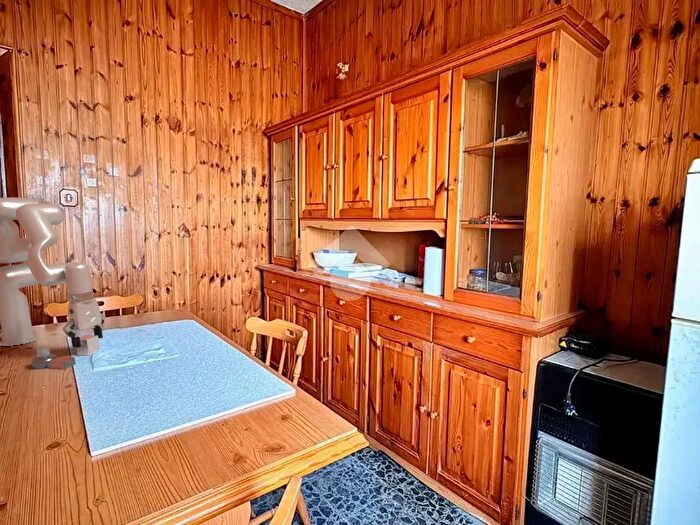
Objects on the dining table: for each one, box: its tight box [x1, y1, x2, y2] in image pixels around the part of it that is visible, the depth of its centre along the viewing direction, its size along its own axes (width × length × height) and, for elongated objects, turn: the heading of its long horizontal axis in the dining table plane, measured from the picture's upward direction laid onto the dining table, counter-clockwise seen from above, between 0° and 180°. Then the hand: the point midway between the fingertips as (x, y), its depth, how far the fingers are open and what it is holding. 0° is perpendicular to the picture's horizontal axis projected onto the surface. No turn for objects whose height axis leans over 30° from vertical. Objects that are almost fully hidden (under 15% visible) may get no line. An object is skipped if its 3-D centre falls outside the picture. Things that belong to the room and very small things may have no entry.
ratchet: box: [30, 346, 77, 370], centre depth 137 cm, size 14×7×6 cm, turn 78°
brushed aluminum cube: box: [76, 334, 101, 357], centre depth 148 cm, size 5×5×6 cm
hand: (88, 342), depth 148 cm, fingers open, 9 cm apart
